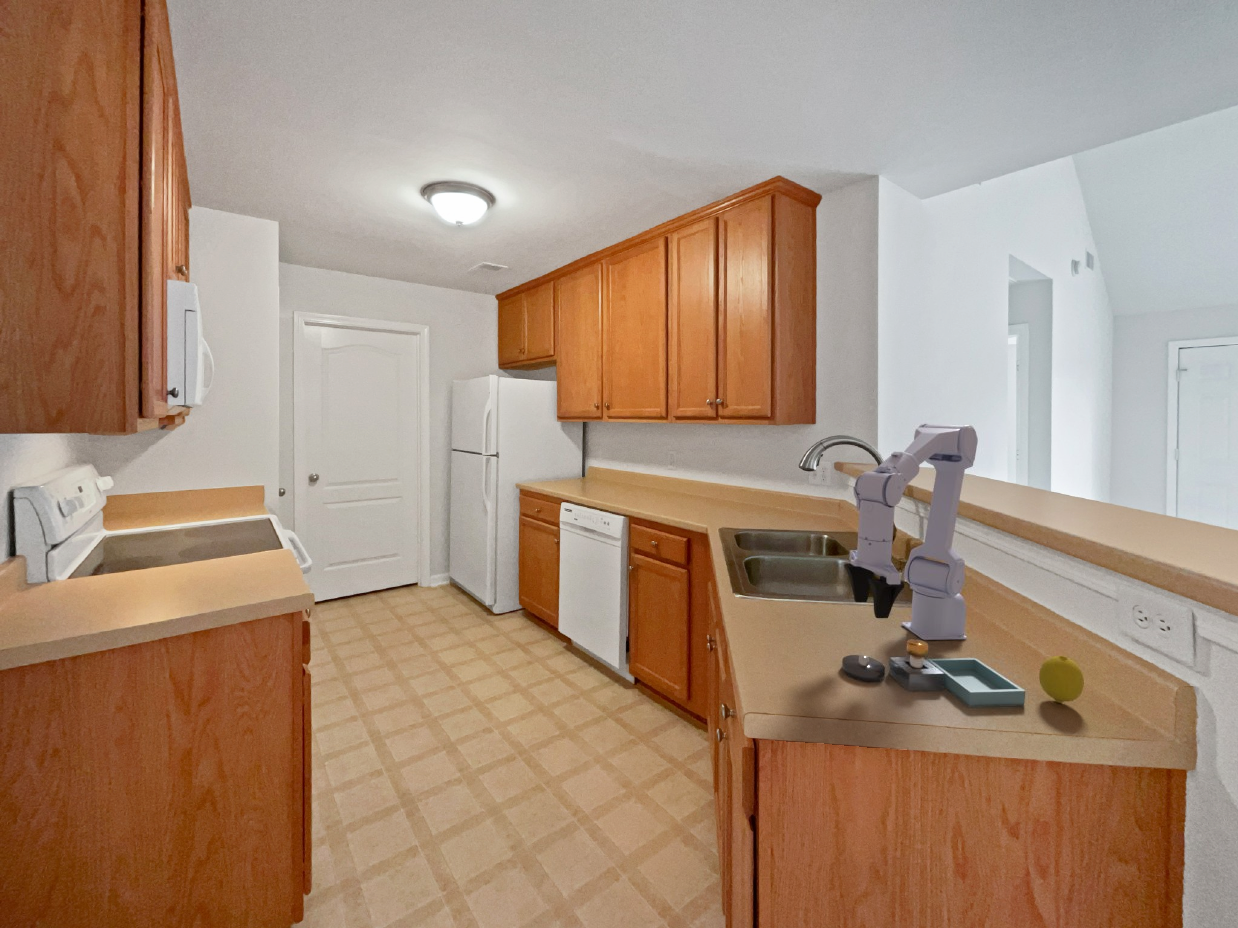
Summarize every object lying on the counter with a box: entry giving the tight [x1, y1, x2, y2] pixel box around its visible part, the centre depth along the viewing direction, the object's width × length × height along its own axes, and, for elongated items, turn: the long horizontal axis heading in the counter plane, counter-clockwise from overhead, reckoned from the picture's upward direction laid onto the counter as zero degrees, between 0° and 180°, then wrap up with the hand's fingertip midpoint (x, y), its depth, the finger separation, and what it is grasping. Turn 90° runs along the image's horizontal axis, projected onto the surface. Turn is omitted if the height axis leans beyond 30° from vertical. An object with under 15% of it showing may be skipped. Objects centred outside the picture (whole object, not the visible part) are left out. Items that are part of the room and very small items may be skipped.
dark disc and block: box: [841, 654, 944, 692], centre depth 95 cm, size 14×10×3 cm
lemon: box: [1038, 654, 1085, 704], centre depth 86 cm, size 6×6×8 cm
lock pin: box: [906, 638, 929, 669], centre depth 93 cm, size 3×3×7 cm
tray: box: [925, 657, 1026, 708], centre depth 91 cm, size 9×11×2 cm
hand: (870, 609), depth 99 cm, fingers open, 7 cm apart
